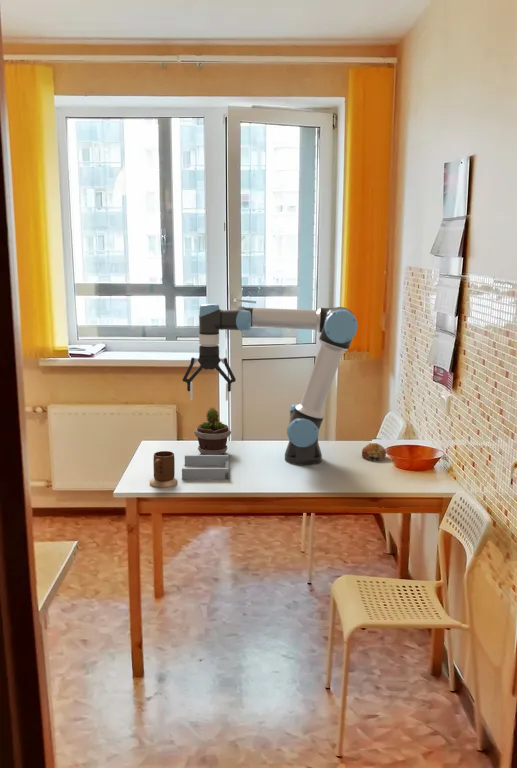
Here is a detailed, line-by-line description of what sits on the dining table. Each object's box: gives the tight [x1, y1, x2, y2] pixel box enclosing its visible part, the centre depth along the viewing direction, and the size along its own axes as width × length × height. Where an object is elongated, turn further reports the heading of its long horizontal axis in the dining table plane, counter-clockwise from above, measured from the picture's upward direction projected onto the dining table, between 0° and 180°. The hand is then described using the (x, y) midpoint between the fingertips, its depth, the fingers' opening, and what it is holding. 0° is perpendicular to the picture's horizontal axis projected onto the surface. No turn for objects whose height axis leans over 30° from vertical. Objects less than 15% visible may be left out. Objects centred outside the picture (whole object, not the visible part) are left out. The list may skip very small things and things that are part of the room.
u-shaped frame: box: [181, 454, 230, 480], centre depth 253 cm, size 17×17×4 cm
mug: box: [152, 450, 176, 481], centre depth 240 cm, size 12×8×9 cm, turn 166°
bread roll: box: [361, 442, 387, 462], centre depth 274 cm, size 10×10×8 cm
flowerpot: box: [194, 406, 232, 455], centre depth 274 cm, size 14×15×20 cm
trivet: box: [149, 477, 178, 489], centre depth 240 cm, size 10×10×1 cm
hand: (209, 399), depth 255 cm, fingers open, 13 cm apart
